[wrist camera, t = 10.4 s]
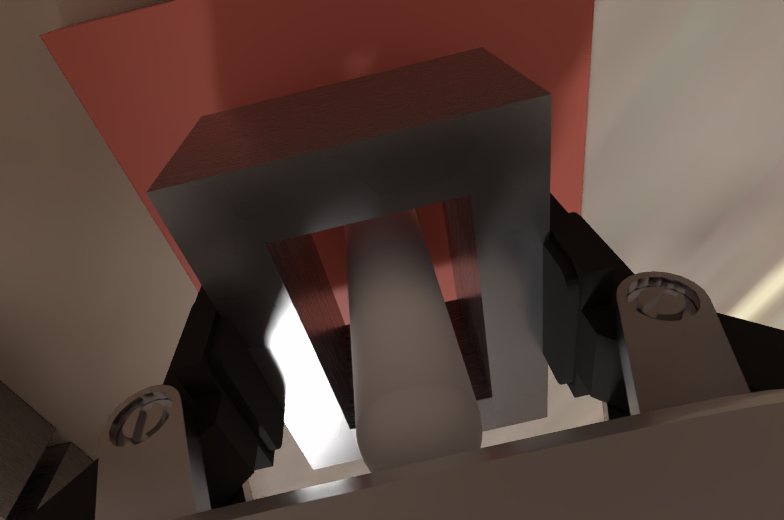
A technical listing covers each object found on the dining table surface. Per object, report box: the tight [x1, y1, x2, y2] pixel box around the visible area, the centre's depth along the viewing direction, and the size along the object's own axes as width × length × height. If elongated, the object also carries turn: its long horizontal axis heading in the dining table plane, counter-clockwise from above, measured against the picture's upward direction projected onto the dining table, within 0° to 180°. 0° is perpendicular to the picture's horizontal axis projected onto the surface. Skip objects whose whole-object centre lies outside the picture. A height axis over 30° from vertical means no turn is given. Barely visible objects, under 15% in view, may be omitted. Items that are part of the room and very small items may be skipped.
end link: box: [146, 47, 552, 470], centre depth 10 cm, size 8×6×4 cm
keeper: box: [39, 0, 594, 473], centre depth 10 cm, size 12×12×9 cm
